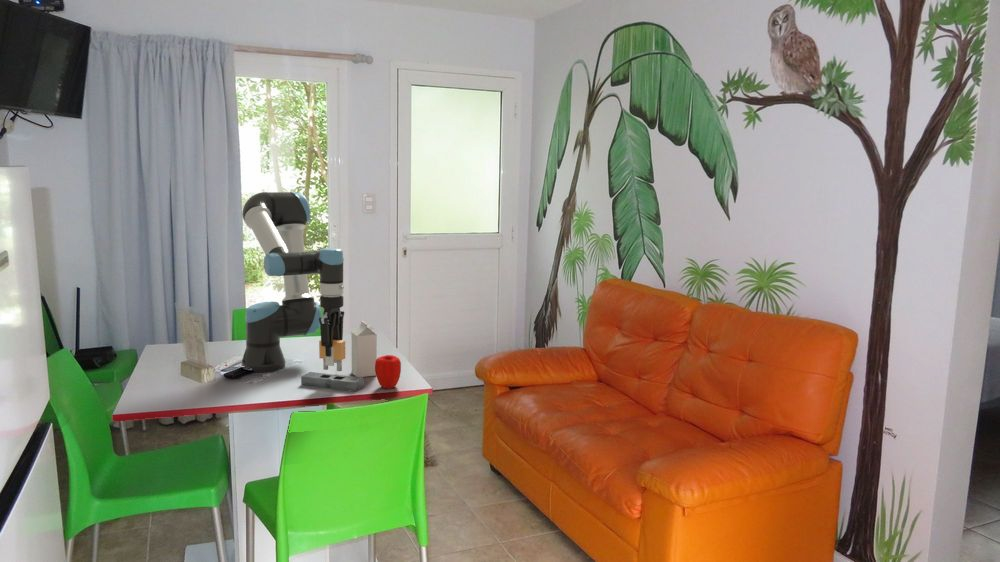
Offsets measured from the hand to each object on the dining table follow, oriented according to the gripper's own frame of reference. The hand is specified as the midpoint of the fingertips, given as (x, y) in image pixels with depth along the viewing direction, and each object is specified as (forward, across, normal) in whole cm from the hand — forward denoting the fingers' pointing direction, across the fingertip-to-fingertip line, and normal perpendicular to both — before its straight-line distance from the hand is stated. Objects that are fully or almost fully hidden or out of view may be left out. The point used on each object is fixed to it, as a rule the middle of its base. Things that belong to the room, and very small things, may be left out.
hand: (332, 363), depth 239 cm
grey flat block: (+8, 0, 0) cm, 8 cm away
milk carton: (+8, +16, -4) cm, 18 cm away
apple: (+8, +5, -18) cm, 20 cm away
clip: (+2, 0, 0) cm, 2 cm away
